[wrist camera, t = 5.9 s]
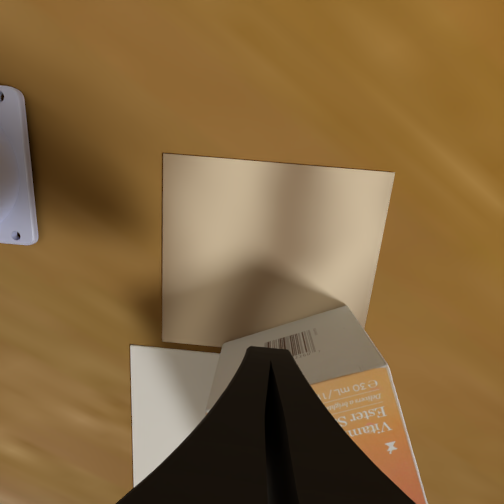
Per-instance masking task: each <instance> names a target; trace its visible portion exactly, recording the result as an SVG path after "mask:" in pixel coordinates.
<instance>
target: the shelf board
mask: <svg viewBox="0 0 504 504" xmlns="http://www.w3.org/2000/svg"><path fill="white" fill-rule="evenodd" d="M394 175H395V173H393V172H381V171H369V170H357V169H345V168H333V167H321V166H309V165H297V164H285V163H273V162H261V161H249V160H237V159H225V158H213V157H200V156H188V155H176V154H164V153H163V274H162V341H163V342H173V343H183V344H193V345H203V346H214V347H222V345H223V344H224V343H226V342H229V341H232V340H235V339H239V338H242V337H245V336H248V335H252V334H255V333H258V332H261V331H264V330H268V329H271V328H274V327H277V326H281V325H284V324H287V323H291V322H294V321H297V320H300V319H303V318H307V317H310V316H313V315H316V314H319V313H323V312H326V311H329V310H333V309H336V308H339V307H342V306H348V307H349V308H350V310H351V311H352V313H353V314H354V316H355V317H356V319H357V320H358V321H359V323H360V324H361V326H362V327H363V329H364V328H365V323H366V318H367V313H368V308H369V302H370V297H371V292H372V287H373V282H374V277H375V272H376V267H377V262H378V257H379V252H380V247H381V242H382V236H383V231H384V226H385V221H386V216H387V211H388V206H389V201H390V196H391V191H392V186H393V181H394Z"/></svg>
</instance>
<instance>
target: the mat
mask: <svg viewBox="0 0 504 504" xmlns="http://www.w3.org/2000/svg"><path fill="white" fill-rule="evenodd" d="M130 357H131V398H132V439H133V479H134V487H135V486H136V485H138V484H139V483H140V482H141V481H142V480H143V479H144V478H146V477H147V476H148V475H149V474H150V473H151V472H152V471H154V470H155V469H156V468H157V467H158V466H159V465H160V464H161V463H162V462H163V461H164V460H165V459H166V458H167V457H168V456H169V455H170V454H171V453H172V452H173V451H174V450H175V449H176V448H177V447H178V446H179V445H180V444H181V443H182V442H183V441H184V440H185V439H186V438H187V437H188V435H189V434H190V433H191V432H192V431H193V430H194V429H195V428H196V426H197V425H198V424H199V423H200V422H201V421H202V419H203V418H204V417H205V416H206V415H205V410H206V406H207V402H208V399H209V395H210V391H211V387H212V383H213V379H214V376H215V372H216V368H217V364H218V360H219V357H220V353H211V352H201V351H191V350H181V349H171V348H160V347H150V346H140V345H130Z"/></svg>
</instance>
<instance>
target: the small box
mask: <svg viewBox="0 0 504 504" xmlns="http://www.w3.org/2000/svg"><path fill="white" fill-rule="evenodd" d="M250 346H257V347H267V348H277V349H288V350H289V351H290V353H291V354H292V356H293V358H294V360H295V361H296V363H297V365H298V366H299V368H300V370H301V371H302V373H303V375H304V376H305V378H306V379H307V381H308V382H309V384H310V385H311V387H312V388H313V390H314V391H315V393H316V394H317V396H318V397H319V398H320V400H321V401H322V403H323V404H324V405H325V407H326V408H327V409H328V411H329V412H330V413H331V415H332V416H333V417H334V418H335V420H336V421H337V422H338V423H339V425H340V426H341V427H342V428H343V430H344V431H345V432H346V433H347V434H348V436H349V437H350V438H351V439H352V440H353V441H354V442H355V443H356V444H357V446H358V447H359V448H360V449H361V450H362V451H363V452H364V453H365V454H366V455H367V456H368V458H369V459H370V460H371V461H372V462H373V463H374V464H375V465H376V466H377V467H378V468H379V469H380V470H381V471H382V472H383V473H384V474H385V475H386V476H387V477H388V478H390V479H391V480H392V481H393V482H394V483H395V484H396V485H397V486H398V487H399V488H400V489H401V490H402V491H403V492H404V493H405V494H406V495H407V496H408V497H409V498H410V499H412V500H413V501H414V502H415V503H416V504H428V502H427V499H426V496H425V492H424V488H423V485H422V482H421V478H420V474H419V471H418V467H417V464H416V460H415V456H414V453H413V450H412V446H411V442H410V439H409V435H408V432H407V428H406V425H405V421H404V418H403V414H402V411H401V407H400V404H399V400H398V397H397V393H396V390H395V387H394V383H393V380H392V376H391V372H390V369H389V366H388V364H387V362H386V361H385V360H384V358H383V357H382V355H381V354H380V352H379V351H378V349H377V348H376V346H375V345H374V343H373V342H372V340H371V339H370V337H369V336H368V334H367V333H366V332H365V330H364V329H363V327H362V326H361V324H360V323H359V321H358V320H357V319H356V317H355V316H354V314H353V313H352V311H351V310H350V308H349V307H348V306H342V307H339V308H336V309H333V310H329V311H326V312H323V313H319V314H316V315H313V316H310V317H307V318H303V319H300V320H297V321H294V322H291V323H287V324H284V325H281V326H277V327H274V328H271V329H268V330H264V331H261V332H258V333H255V334H252V335H248V336H245V337H242V338H239V339H235V340H232V341H229V342H226V343H224V344H223V345H222V349H221V353H220V357H219V360H218V364H217V368H216V372H215V376H214V379H213V383H212V387H211V391H210V395H209V399H208V402H207V406H206V410H205V415H207V413H208V412H209V411H210V410H211V408H212V407H213V406H214V404H215V403H216V402H217V400H218V399H219V397H220V396H221V395H222V393H223V392H224V390H225V389H226V388H227V386H228V384H229V383H230V381H231V380H232V378H233V376H234V375H235V373H236V371H237V370H238V368H239V366H240V364H241V362H242V360H243V358H244V356H245V353H246V349H247V348H248V347H250Z"/></svg>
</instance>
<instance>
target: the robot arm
mask: <svg viewBox="0 0 504 504" xmlns="http://www.w3.org/2000/svg"><path fill="white" fill-rule="evenodd" d="M2 94H3V95H4V100H3V101H2V100H1V95H2ZM17 232H18V233H19V234H20V236H21V237H20V238H19V237H18V235H17ZM37 241H38V227H37V217H36V207H35V197H34V188H33V178H32V168H31V158H30V148H29V138H28V129H27V119H26V109H25V100H24V96H23V94H22V93H21V91H19V90H18V89H16V88H13V87H10V86H2V85H0V243H7V244H18V245H31V244H34V243H36V242H37ZM116 504H416V503H415V502H414V501H413V500H412V499H410V498H409V497H408V496H407V495H406V494H405V493H404V492H403V491H402V490H401V489H400V488H399V487H398V486H397V485H396V484H395V483H394V482H393V481H392V480H391V479H390V478H388V477H387V476H386V475H385V474H384V473H383V472H382V471H381V470H380V469H379V468H378V467H377V466H376V465H375V464H374V463H373V462H372V461H371V460H370V459H369V458H368V456H367V455H366V454H365V453H364V452H363V451H362V450H361V449H360V448H359V447H358V446H357V444H356V443H355V442H354V441H353V440H352V439H351V438H350V437H349V436H348V434H347V433H346V432H345V431H344V430H343V428H342V427H341V426H340V425H339V423H338V422H337V421H336V420H335V418H334V417H333V416H332V415H331V413H330V412H329V411H328V409H327V408H326V407H325V405H324V404H323V403H322V401H321V400H320V398H319V397H318V396H317V394H316V393H315V391H314V390H313V388H312V387H311V385H310V384H309V382H308V381H307V379H306V378H305V376H304V375H303V373H302V371H301V370H300V368H299V366H298V365H297V363H296V361H295V360H294V358H293V356H292V354H291V353H290V351H289V350H288V349H277V348H267V347H257V346H250V347H248V348H247V349H246V353H245V356H244V358H243V360H242V362H241V364H240V366H239V368H238V370H237V371H236V373H235V375H234V376H233V378H232V380H231V381H230V383H229V384H228V386H227V388H226V389H225V390H224V392H223V393H222V395H221V396H220V397H219V399H218V400H217V402H216V403H215V404H214V406H213V407H212V408H211V410H210V411H209V412H208V413H207V415H206V416H205V417H204V418H203V419H202V421H201V422H200V423H199V424H198V425H197V426H196V428H195V429H194V430H193V431H192V432H191V433H190V434H189V435H188V437H187V438H186V439H185V440H184V441H183V442H182V443H181V444H180V445H179V446H178V447H177V448H176V449H175V450H174V451H173V452H172V453H171V454H170V455H169V456H168V457H167V458H166V459H165V460H164V461H163V462H162V463H161V464H160V465H159V466H158V467H157V468H156V469H155V470H154V471H152V472H151V473H150V474H149V475H148V476H147V477H146V478H144V479H143V480H142V481H141V482H140V483H139V484H138V485H136V486H135V487H134V488H133V489H132V490H131V491H130V492H128V493H127V494H126V495H125V496H124V497H123V498H122V499H120V500H119V501H118V502H117V503H116Z"/></svg>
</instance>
